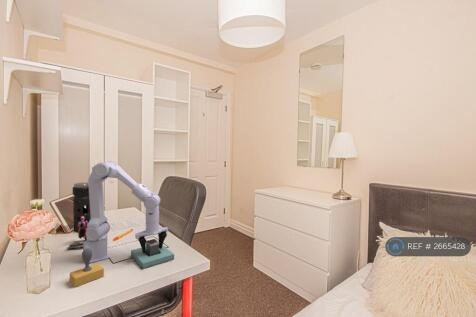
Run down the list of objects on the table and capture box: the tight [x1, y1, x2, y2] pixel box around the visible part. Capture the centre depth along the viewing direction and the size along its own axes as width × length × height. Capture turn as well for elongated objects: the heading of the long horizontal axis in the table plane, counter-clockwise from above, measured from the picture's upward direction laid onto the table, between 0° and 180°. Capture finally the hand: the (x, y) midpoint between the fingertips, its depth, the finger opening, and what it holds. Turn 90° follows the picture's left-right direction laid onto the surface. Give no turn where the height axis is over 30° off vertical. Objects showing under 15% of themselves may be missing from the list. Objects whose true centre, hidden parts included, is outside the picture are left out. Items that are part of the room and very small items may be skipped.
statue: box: [66, 216, 88, 250], centre depth 121 cm, size 11×9×15 cm
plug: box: [146, 238, 159, 257], centre depth 109 cm, size 4×5×7 cm
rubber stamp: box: [69, 248, 105, 288], centre depth 91 cm, size 10×6×12 cm, turn 140°
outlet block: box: [130, 245, 175, 270], centre depth 110 cm, size 14×16×2 cm
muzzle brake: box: [72, 182, 91, 234], centre depth 142 cm, size 10×28×10 cm
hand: (152, 250), depth 110 cm, fingers open, 7 cm apart
